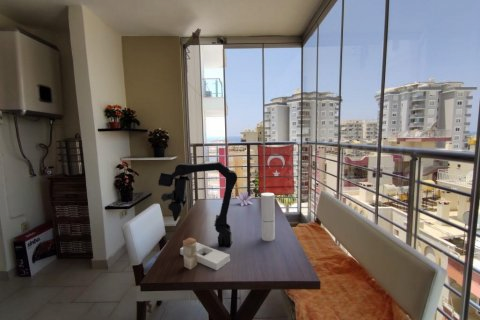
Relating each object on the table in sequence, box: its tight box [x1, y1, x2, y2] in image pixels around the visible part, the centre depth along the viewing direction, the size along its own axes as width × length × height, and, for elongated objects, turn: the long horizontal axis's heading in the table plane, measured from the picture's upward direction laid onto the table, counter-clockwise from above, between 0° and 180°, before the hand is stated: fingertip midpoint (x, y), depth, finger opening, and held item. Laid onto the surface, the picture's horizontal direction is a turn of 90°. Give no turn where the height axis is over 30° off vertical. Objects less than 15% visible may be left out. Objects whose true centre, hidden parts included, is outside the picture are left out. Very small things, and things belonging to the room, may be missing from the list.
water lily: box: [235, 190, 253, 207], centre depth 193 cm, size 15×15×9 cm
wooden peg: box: [182, 237, 198, 270], centre depth 103 cm, size 4×4×12 cm
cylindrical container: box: [260, 192, 276, 242], centre depth 127 cm, size 7×7×25 cm
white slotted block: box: [179, 241, 231, 271], centre depth 110 cm, size 9×24×3 cm, turn 53°
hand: (176, 217), depth 119 cm, fingers open, 9 cm apart
